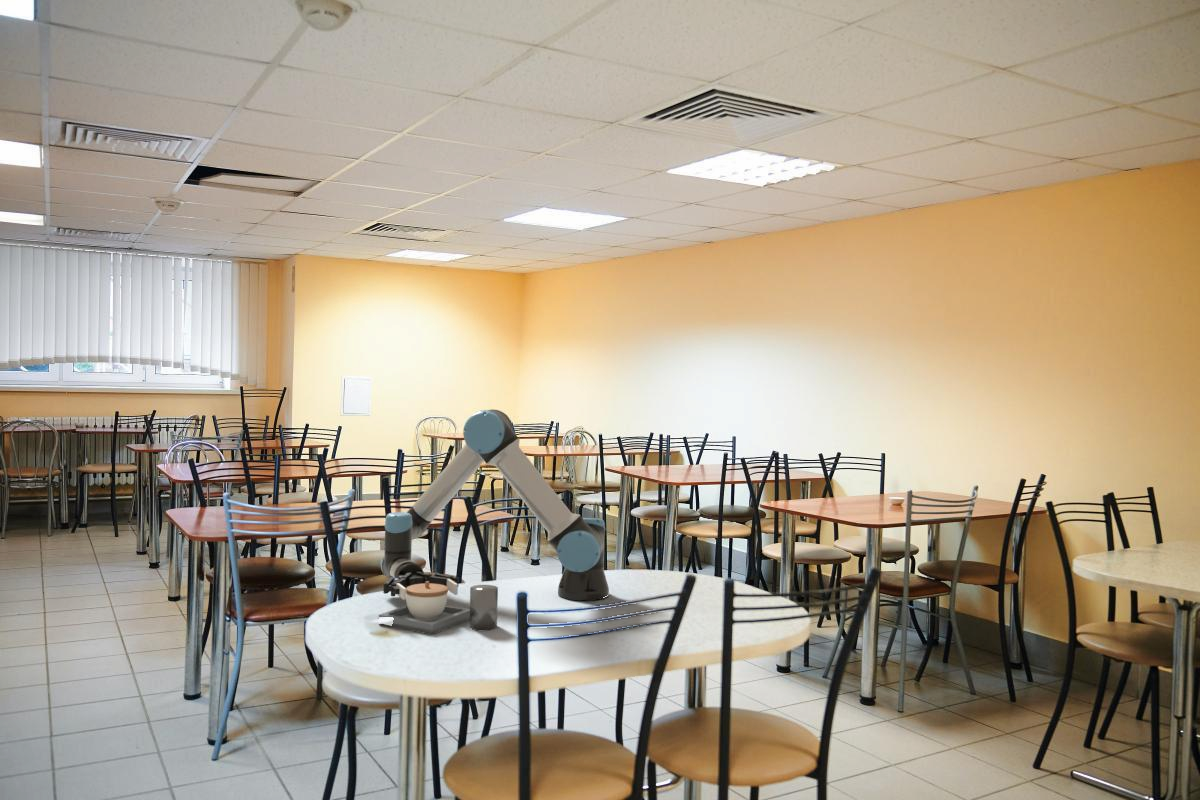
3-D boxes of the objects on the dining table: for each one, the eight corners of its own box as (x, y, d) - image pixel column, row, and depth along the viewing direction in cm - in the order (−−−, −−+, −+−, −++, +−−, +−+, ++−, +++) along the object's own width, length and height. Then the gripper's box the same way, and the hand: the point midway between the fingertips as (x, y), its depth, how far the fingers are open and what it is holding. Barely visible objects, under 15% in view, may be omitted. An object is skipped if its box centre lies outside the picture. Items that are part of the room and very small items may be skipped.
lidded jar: (451, 613, 233) (452, 578, 233) (440, 624, 222) (441, 587, 222) (412, 611, 234) (413, 576, 234) (399, 621, 223) (400, 585, 223)
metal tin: (502, 625, 226) (503, 587, 226) (486, 632, 220) (487, 592, 220) (479, 621, 229) (480, 583, 229) (463, 627, 223) (464, 588, 223)
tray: (472, 618, 232) (472, 609, 232) (432, 634, 216) (432, 624, 216) (420, 609, 239) (420, 600, 239) (378, 624, 224) (378, 614, 224)
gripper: (450, 584, 250) (476, 601, 231) (361, 592, 238) (381, 611, 219) (450, 558, 249) (477, 573, 231) (362, 564, 237) (382, 581, 219)
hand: (430, 591), depth 225 cm, fingers open, 13 cm apart
